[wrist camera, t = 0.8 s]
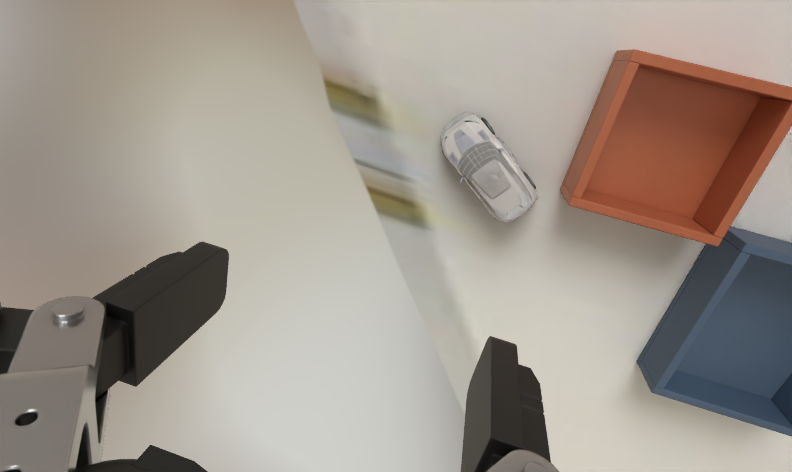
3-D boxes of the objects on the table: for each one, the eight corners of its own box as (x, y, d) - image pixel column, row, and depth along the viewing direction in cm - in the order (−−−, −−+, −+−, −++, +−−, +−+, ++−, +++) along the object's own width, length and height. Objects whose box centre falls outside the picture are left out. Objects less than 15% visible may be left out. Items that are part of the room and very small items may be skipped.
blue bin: (718, 222, 29) (746, 243, 26) (879, 266, 28) (929, 293, 25) (636, 361, 34) (651, 392, 31) (770, 402, 33) (799, 439, 30)
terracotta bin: (616, 50, 26) (634, 49, 23) (772, 88, 25) (812, 92, 22) (559, 189, 30) (567, 205, 27) (693, 226, 29) (718, 247, 26)
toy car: (473, 102, 29) (472, 106, 26) (542, 192, 30) (547, 205, 28) (431, 136, 30) (426, 143, 28) (499, 221, 32) (500, 237, 29)
